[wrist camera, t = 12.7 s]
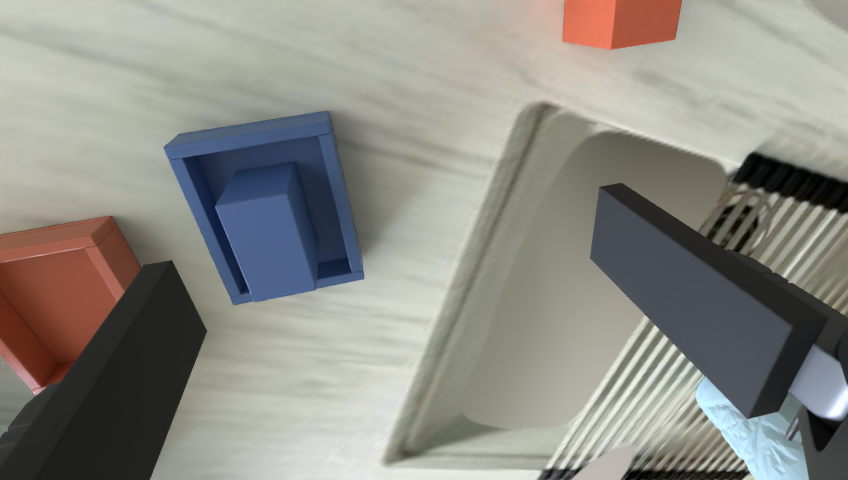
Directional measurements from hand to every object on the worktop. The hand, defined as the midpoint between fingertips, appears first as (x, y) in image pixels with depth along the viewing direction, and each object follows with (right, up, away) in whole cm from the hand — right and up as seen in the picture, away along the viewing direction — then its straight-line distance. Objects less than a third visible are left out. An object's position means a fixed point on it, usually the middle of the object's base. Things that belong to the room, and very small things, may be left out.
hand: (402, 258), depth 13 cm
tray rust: (-21, -3, +14) cm, 26 cm away
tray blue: (-8, +3, +13) cm, 16 cm away
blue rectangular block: (-8, +2, +13) cm, 16 cm away
